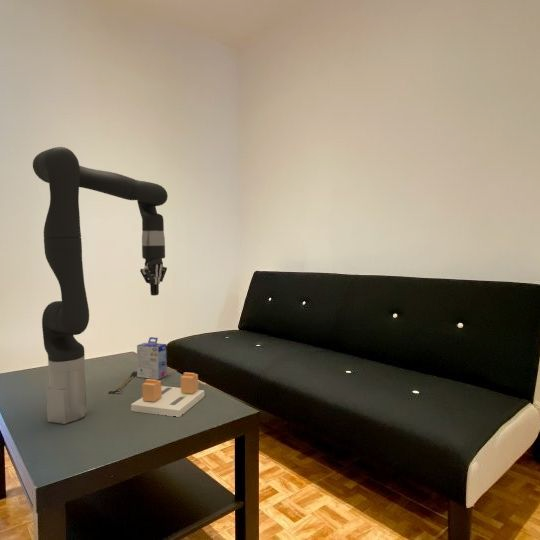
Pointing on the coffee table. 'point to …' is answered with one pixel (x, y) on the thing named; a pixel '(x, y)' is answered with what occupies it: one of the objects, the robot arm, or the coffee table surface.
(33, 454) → the coffee table surface
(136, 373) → the tactical tomahawk
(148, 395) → the tab
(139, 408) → the switch bank
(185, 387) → the tab
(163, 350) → the ink cartridge box
